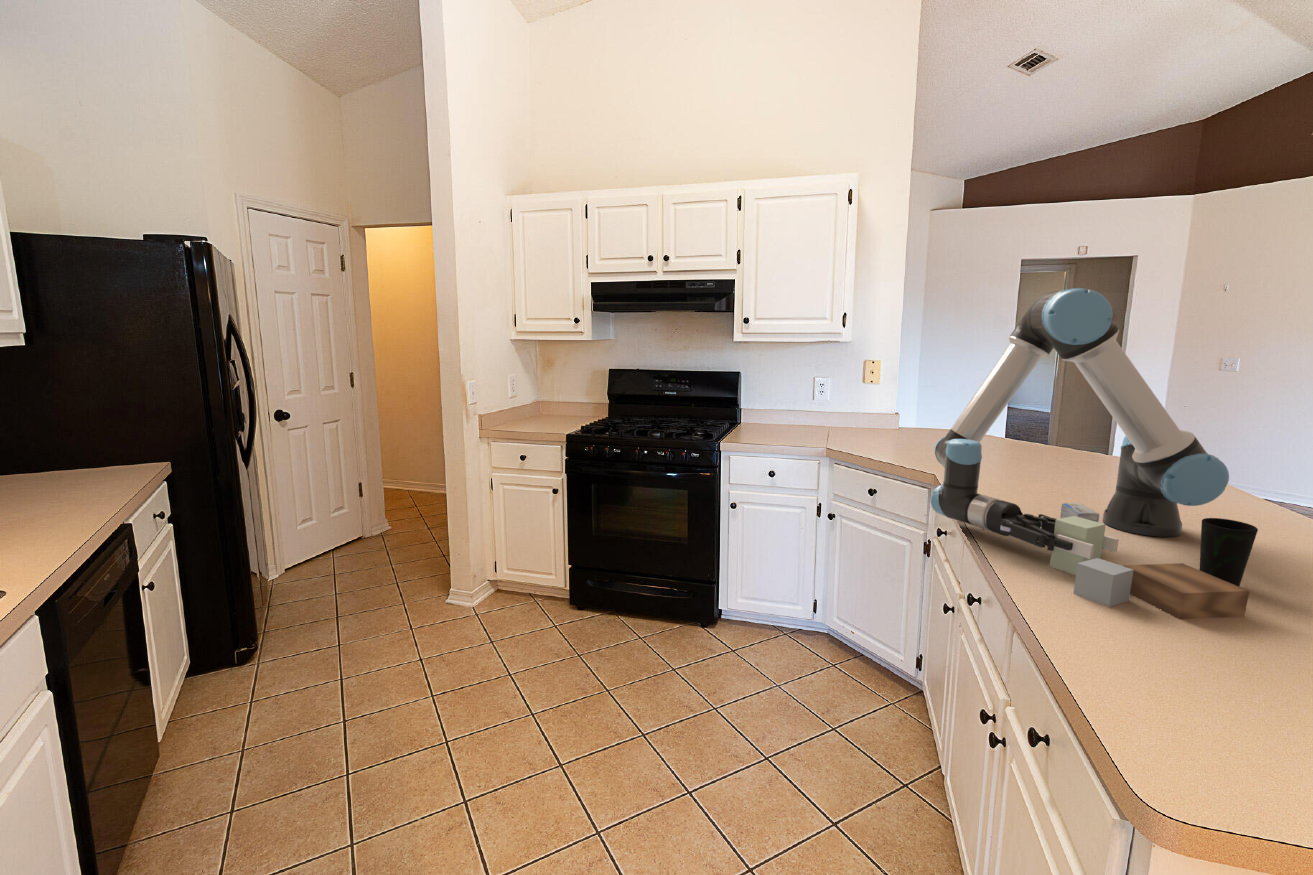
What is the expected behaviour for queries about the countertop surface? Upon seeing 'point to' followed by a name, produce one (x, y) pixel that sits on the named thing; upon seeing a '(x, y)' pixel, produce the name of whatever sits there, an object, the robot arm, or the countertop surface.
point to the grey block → (1103, 582)
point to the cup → (1226, 548)
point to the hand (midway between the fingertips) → (1104, 548)
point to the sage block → (1079, 531)
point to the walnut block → (1187, 591)
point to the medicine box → (1078, 511)
